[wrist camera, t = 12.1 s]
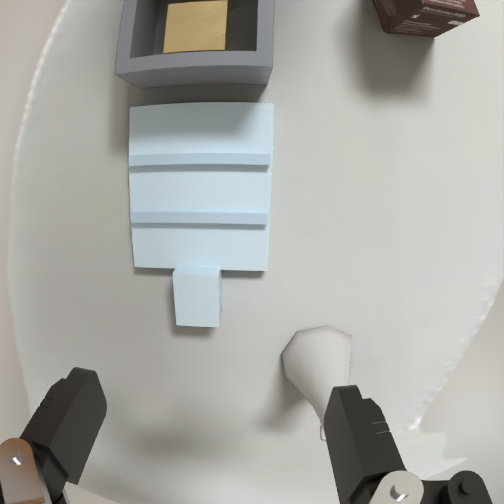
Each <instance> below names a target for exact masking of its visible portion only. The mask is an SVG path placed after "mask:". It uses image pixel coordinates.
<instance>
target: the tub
mask: <svg viewBox="0 0 504 504" xmlns="http://www.w3.org/2000/svg"><path fill="white" fill-rule="evenodd" d="M169 4H176V1H175V0H124V5H123V11H122V17H121V23H120V30H119V37H118V45H117V53H116V63H115V73H114V75H116V76H118V77H120V78H122V79H124V80H126V81H128V82H130V83H132V84H134V85H135V86H137V87H139V88H141V89H142V88H152V87H164V86H178V85H198V84H257V85H267V84H268V81H269V78H270V74H271V71H272V68H273V40H274V0H232V7H231V10H229V14H230V21H231V23H230V42H229V51H202V52H184V53H171V54H164V53H163V50H164V39H165V30H166V21H167V12H168V5H169Z"/></svg>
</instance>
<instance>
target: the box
mask: <svg viewBox="0 0 504 504" xmlns="http://www.w3.org/2000/svg"><path fill="white" fill-rule="evenodd" d="M373 2H374V4H375V7H376V10H377V12H378V15H379V18H380V21H381V24H382V27H383V30H384V32H387V33H397V34H408V35H418V36H429V37H437V36H439V35H441V34H443V33H445V32H447V31H449V30H451V29H453V28H455V27H457V26H459V25H461V24H463V23H465V22H467V21H469V20H471V19H473V18H476V17H479V16H480V15H479V12H478V10H477V7H476V5H475V2H474V0H373Z"/></svg>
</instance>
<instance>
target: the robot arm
mask: <svg viewBox="0 0 504 504" xmlns="http://www.w3.org/2000/svg"><path fill="white" fill-rule="evenodd" d="M106 411H107V403H106V399H105V396H104V393H103V390H102V387H101V385H100V382H99V379H98V376H97V373H96V372H95V371H92V370H87V369H82V368H78V367H75V368H73V369H72V371H71V372H70V374H69V375H68V377H67V378H66V379H63V378H62V379H60V380H59V381H58V382H56V383H55V384H54V385H52V386H51V388H50V389H49V391H48V392H47V394H46V396H45V399H43V400H42V402H41V403H40V407H38V408H37V410H36V412H35V413H34V415H33V416H32V418H31V420H30V421H29V423H28V425H27V426H26V428H25V430H24V432H23V433H22V435H21V436H20V437H19V438H11V439H8V440H6V441H4V442H3V443H2V444H1V445H0V504H70V501H69V499H68V496H67V493H66V491H65V489H64V485H65V483H66V481H67V482H70V483H73V484H76V485H78V482H79V479H80V477H81V474H82V472H83V469H84V466H85V464H86V461H87V459H88V456H89V454H90V451H91V449H92V446H93V444H94V442H95V439H96V437H97V434H98V432H99V430H100V427H101V425H102V423H103V420H104V418H105V415H106ZM385 421H386V420H385V417H384V415H383V413H382V410H381V408H380V407H379V406H378V405H377V404H376V403H375V402H374V401H373V400H372V399H371V398H368V399H362V396H361V394H360V391H359V389H358V387H357V386H356V385H348V386H334V387H333V389H332V392H331V395H330V398H329V402H328V405H327V408H326V411H325V415H324V433H325V437H326V442H327V446H328V450H329V455H330V459H331V464H332V468H333V473H334V478H335V482H336V487H337V492H338V496H339V501H340V504H493V503H492V501H491V499H490V496H489V494H488V491H487V489H486V486H485V484H484V482H483V480H482V478H481V477H480V476H479V475H478V474H476V473H475V472H472V471H461V472H458V473H456V474H455V475H454V476H453V477H452V478H451V479H450V480H444V481H425V480H420V479H419V477H418V476H416V475H415V474H413V473H411V472H408V471H407V470H406V468H405V466H404V464H403V462H402V459H401V457H400V454H399V452H398V449H397V447H396V444H395V442H394V439H393V437H392V434H391V432H389V430H390V429H389V427H388V425H387V422H385Z"/></svg>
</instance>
